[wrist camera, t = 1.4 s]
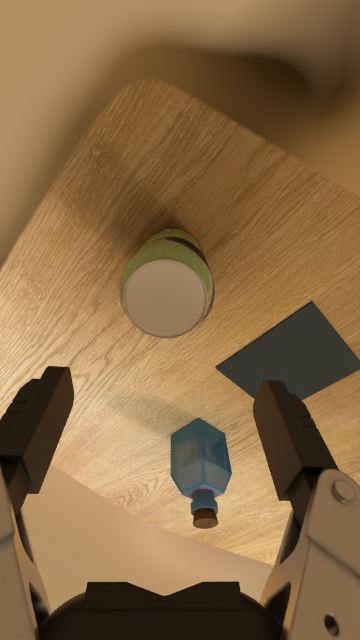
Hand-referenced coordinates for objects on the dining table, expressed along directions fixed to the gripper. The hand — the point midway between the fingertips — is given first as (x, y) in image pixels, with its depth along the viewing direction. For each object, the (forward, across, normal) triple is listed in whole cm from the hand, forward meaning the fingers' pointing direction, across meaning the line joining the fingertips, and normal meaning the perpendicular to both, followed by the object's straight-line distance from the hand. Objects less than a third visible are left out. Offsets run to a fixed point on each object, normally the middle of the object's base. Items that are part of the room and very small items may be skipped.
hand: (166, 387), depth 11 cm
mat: (+17, -17, +14) cm, 28 cm away
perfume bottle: (+18, -7, +30) cm, 35 cm away
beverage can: (+17, 0, 0) cm, 17 cm away
